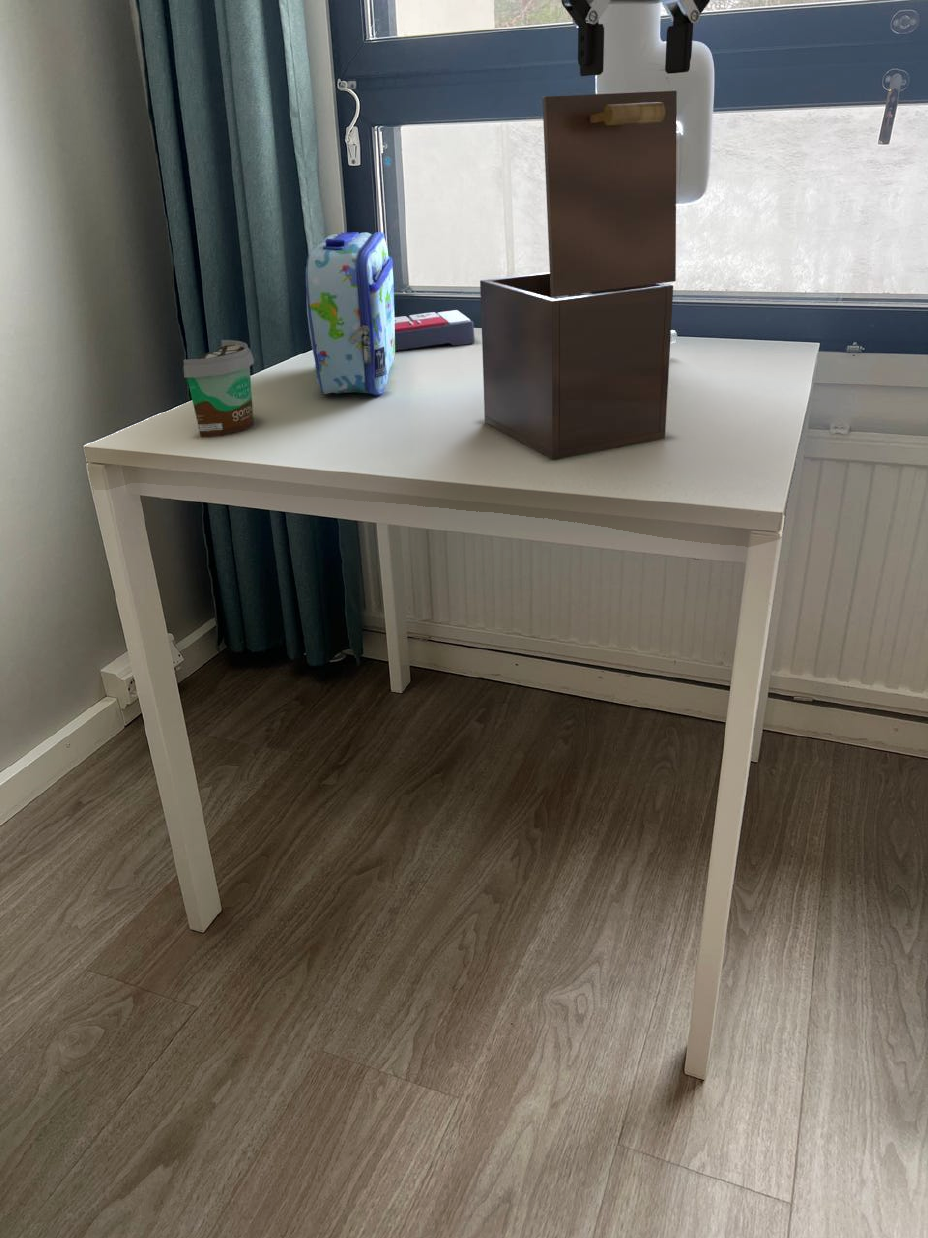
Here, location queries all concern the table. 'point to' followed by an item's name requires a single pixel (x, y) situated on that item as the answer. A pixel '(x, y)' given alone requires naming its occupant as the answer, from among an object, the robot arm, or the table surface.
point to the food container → (222, 389)
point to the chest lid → (610, 190)
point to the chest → (575, 364)
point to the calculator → (433, 330)
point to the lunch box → (351, 312)
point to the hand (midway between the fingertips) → (635, 73)
